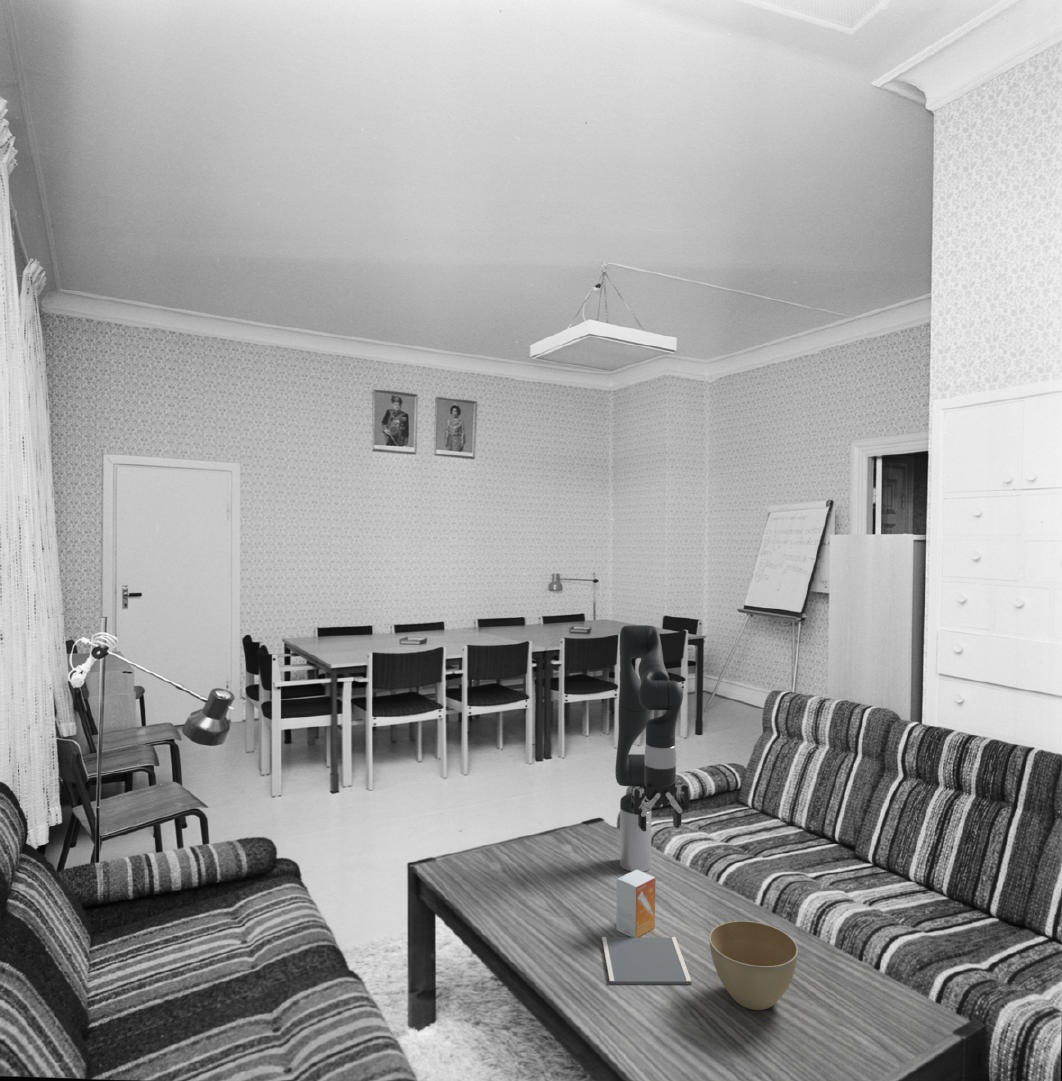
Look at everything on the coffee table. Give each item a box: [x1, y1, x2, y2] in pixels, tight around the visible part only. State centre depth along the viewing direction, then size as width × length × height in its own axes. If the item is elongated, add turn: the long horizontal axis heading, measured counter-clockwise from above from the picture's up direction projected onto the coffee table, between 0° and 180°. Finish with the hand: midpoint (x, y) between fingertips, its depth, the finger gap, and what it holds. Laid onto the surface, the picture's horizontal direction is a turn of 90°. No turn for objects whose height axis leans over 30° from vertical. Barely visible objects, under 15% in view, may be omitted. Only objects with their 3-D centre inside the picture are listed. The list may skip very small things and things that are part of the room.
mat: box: [601, 936, 692, 985], centre depth 174 cm, size 18×18×1 cm
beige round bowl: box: [708, 920, 799, 1011], centre depth 160 cm, size 18×18×12 cm
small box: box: [615, 870, 656, 937], centre depth 188 cm, size 8×6×13 cm
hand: (659, 828), depth 182 cm, fingers open, 8 cm apart
